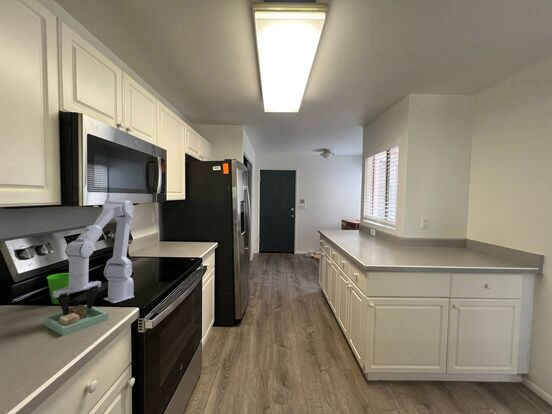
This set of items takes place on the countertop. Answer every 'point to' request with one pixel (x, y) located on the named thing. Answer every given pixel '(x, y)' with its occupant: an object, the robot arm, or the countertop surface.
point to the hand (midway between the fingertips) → (77, 311)
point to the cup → (57, 284)
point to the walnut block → (79, 311)
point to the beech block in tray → (69, 319)
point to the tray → (92, 318)
